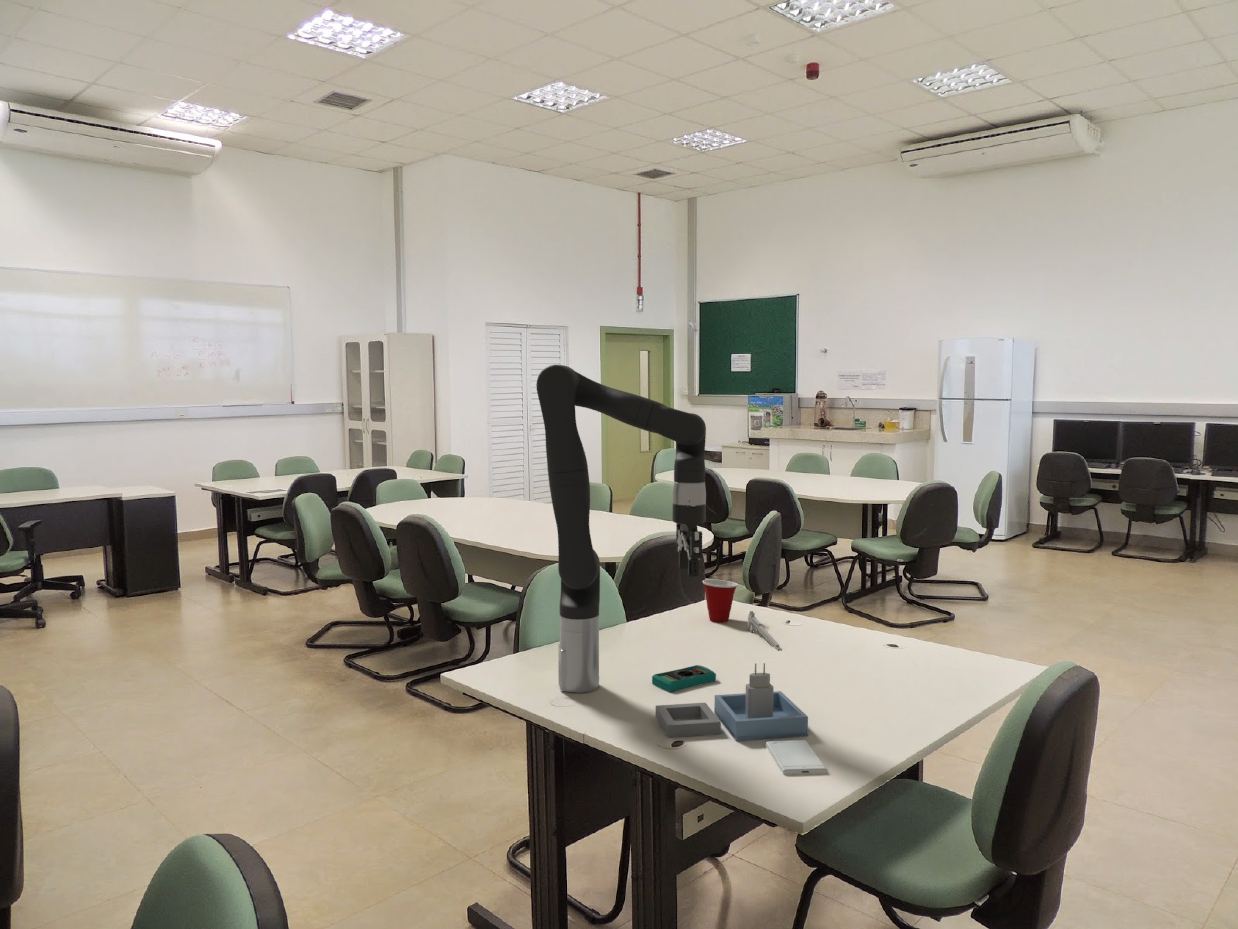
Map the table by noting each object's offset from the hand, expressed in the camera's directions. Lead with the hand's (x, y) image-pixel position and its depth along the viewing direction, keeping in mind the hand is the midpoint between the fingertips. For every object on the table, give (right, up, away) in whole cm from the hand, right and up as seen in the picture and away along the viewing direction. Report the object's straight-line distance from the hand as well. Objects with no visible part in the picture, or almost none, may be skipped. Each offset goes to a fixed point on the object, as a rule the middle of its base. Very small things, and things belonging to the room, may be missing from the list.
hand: (688, 572), depth 193 cm
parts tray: (+13, -30, -17) cm, 36 cm away
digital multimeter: (0, -28, +9) cm, 30 cm away
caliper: (+25, -25, +45) cm, 57 cm away
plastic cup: (+15, -23, +66) cm, 71 cm away
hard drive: (+17, -32, -33) cm, 49 cm away
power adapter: (+13, -29, -17) cm, 36 cm away
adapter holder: (-2, -30, -17) cm, 34 cm away
